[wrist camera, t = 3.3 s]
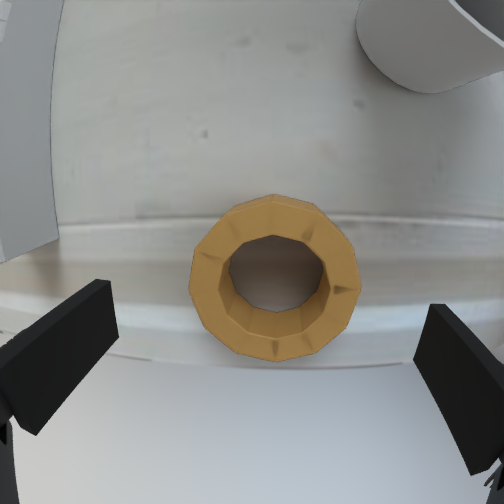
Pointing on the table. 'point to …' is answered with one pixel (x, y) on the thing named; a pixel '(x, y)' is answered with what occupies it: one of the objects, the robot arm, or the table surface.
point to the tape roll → (263, 321)
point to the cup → (433, 40)
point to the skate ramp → (26, 124)
